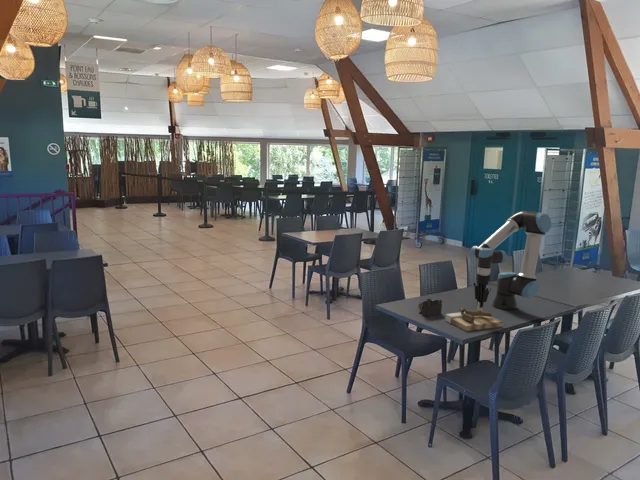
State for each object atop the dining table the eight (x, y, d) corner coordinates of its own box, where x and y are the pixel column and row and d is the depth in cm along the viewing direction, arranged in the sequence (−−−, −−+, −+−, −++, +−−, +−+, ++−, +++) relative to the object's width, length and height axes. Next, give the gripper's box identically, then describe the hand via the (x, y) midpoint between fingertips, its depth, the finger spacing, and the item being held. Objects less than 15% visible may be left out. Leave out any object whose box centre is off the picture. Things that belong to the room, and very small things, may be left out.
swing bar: (459, 313, 303) (459, 309, 303) (459, 311, 307) (459, 307, 306) (491, 316, 299) (491, 312, 299) (490, 315, 303) (491, 310, 302)
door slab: (485, 318, 309) (486, 314, 309) (502, 326, 296) (502, 321, 296) (450, 323, 299) (451, 318, 299) (465, 331, 286) (466, 326, 286)
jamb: (480, 316, 314) (481, 307, 313) (485, 318, 309) (486, 309, 308) (445, 320, 304) (446, 311, 303) (450, 323, 299) (451, 313, 298)
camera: (430, 309, 325) (431, 294, 323) (442, 314, 316) (444, 298, 314) (413, 312, 318) (414, 297, 316) (425, 317, 308) (427, 301, 307)
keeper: (464, 318, 299) (465, 312, 298) (473, 323, 292) (474, 317, 291) (462, 318, 298) (462, 313, 298) (471, 323, 291) (471, 317, 290)
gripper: (471, 271, 305) (467, 309, 309) (485, 277, 293) (481, 316, 298) (481, 271, 308) (477, 308, 312) (495, 276, 296) (491, 315, 301)
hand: (479, 312), depth 305 cm, fingers closed
